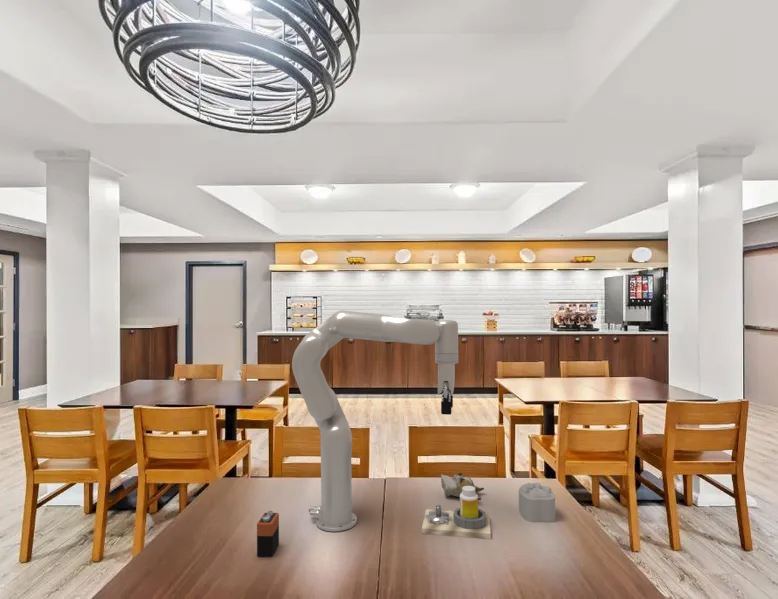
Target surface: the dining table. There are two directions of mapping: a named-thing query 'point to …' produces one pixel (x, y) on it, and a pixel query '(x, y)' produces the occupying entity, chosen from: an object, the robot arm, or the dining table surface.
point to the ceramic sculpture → (457, 484)
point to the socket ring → (470, 520)
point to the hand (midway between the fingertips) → (447, 410)
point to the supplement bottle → (468, 503)
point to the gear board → (455, 528)
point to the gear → (438, 517)
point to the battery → (268, 534)
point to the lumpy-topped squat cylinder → (536, 503)
